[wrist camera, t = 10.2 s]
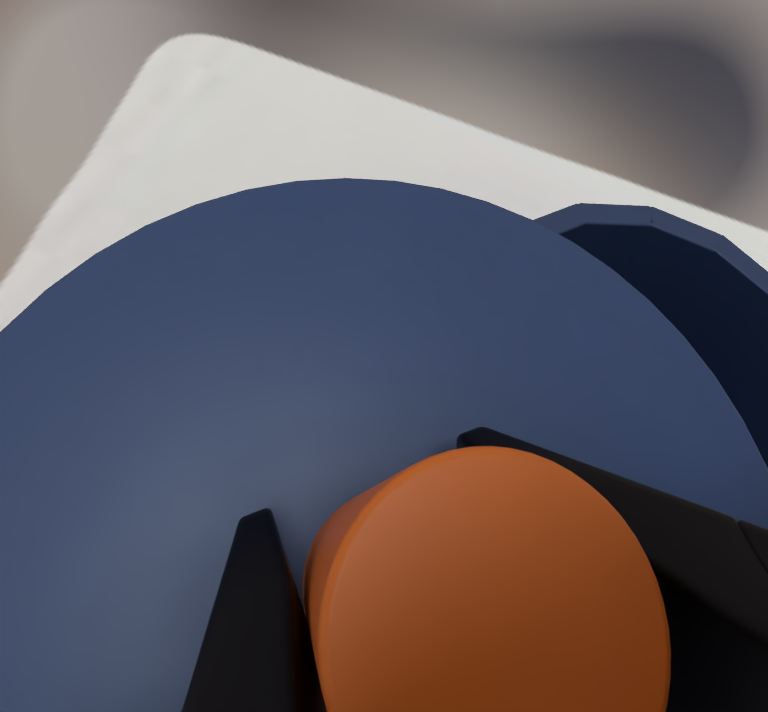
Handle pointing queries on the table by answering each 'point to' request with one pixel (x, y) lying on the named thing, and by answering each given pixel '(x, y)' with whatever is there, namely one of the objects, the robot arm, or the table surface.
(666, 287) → the bin
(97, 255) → the bin lid
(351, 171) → the table surface
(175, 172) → the table surface
